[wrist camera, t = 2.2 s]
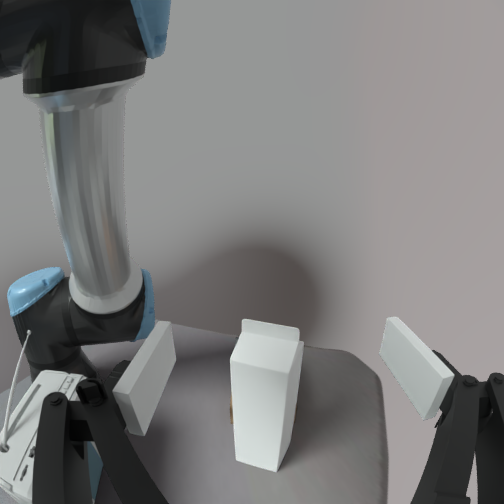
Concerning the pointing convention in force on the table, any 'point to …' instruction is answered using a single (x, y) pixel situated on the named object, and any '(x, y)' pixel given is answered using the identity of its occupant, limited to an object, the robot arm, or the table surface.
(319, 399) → the table surface
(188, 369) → the table surface
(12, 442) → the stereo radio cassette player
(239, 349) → the milk
